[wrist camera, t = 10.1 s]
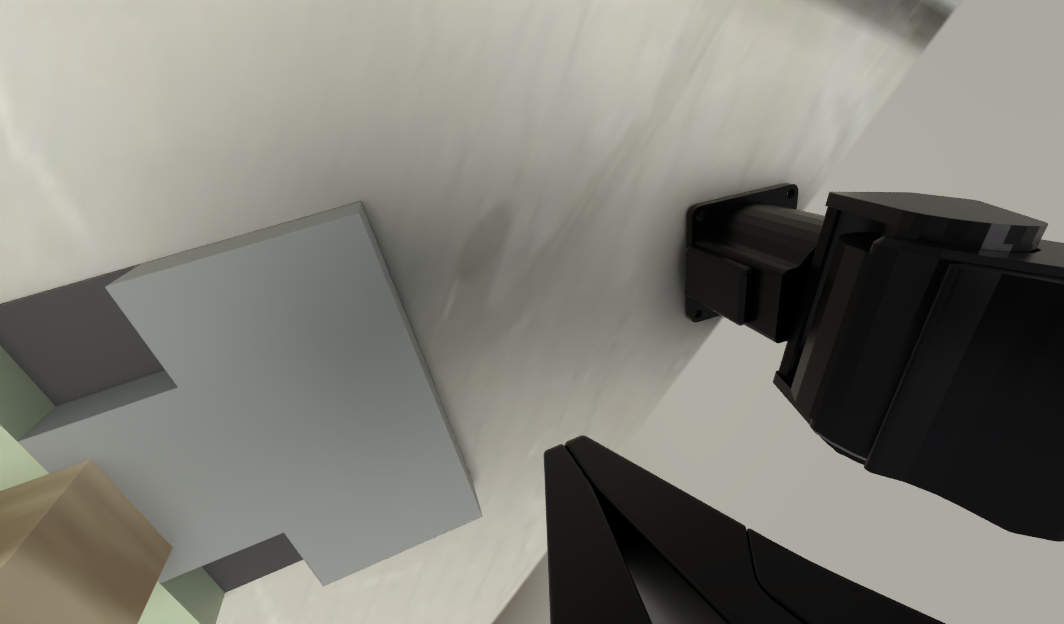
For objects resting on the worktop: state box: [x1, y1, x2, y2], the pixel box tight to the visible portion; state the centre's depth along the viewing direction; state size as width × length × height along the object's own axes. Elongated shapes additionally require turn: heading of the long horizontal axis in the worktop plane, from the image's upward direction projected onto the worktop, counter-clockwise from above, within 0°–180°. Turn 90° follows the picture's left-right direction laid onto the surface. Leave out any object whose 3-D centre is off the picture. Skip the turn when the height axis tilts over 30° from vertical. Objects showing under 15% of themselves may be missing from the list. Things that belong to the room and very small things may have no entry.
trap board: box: [0, 201, 482, 624], centre depth 18 cm, size 18×16×4 cm
